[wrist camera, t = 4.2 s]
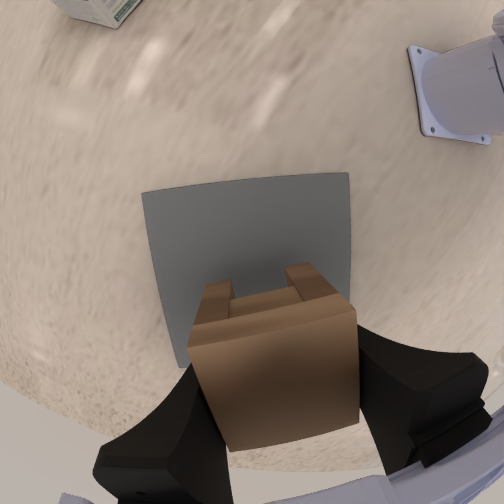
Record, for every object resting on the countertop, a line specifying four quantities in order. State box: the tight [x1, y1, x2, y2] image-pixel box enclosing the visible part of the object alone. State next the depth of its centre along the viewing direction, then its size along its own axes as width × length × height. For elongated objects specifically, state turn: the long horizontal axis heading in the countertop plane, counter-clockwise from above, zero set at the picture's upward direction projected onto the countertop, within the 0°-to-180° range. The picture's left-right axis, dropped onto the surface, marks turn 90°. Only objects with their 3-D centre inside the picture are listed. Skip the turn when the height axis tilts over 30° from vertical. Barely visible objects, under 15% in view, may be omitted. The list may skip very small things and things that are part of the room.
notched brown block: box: [186, 262, 360, 452], centre depth 11 cm, size 5×5×6 cm
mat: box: [141, 173, 351, 368], centre depth 20 cm, size 14×14×1 cm
